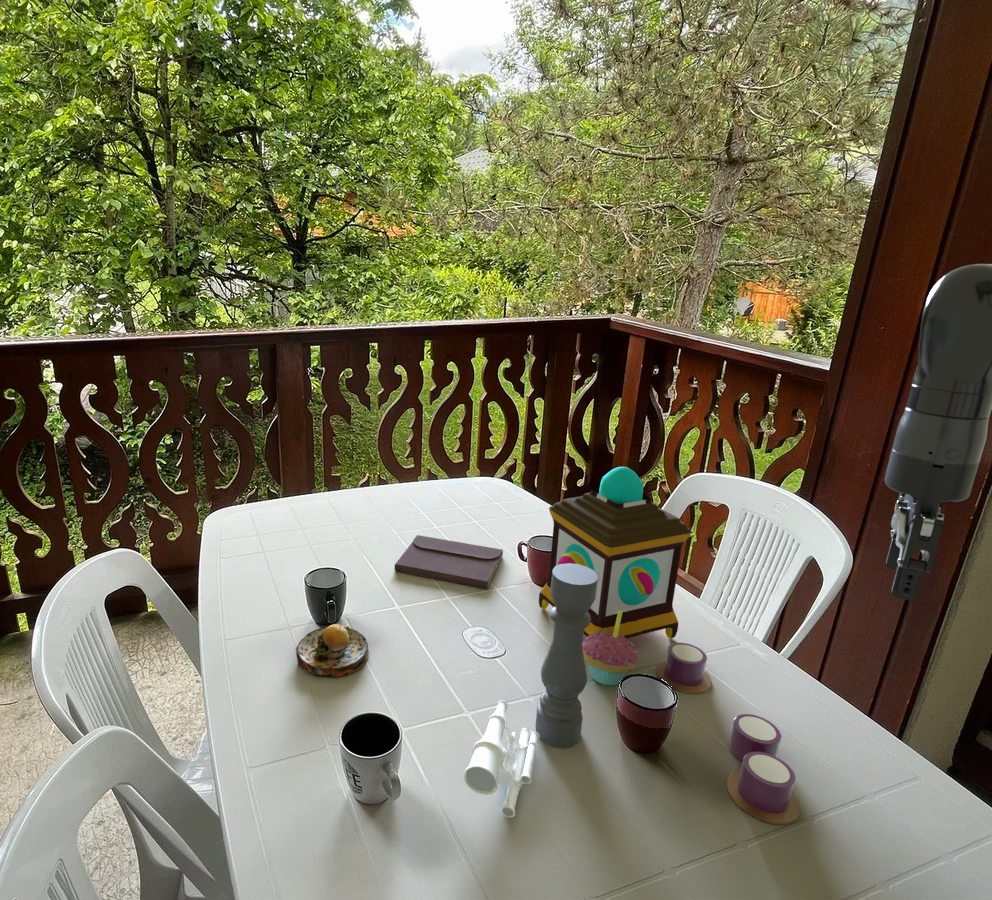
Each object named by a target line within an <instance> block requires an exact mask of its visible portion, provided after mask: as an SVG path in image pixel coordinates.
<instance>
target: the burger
mask: <svg viewBox="0 0 992 900" xmlns="http://www.w3.org/2000/svg"><path fill="white" fill-rule="evenodd" d="M369 652H370V651H369V643H368V640H367V638H366V637H365V636H364V634H362V633H361V632H359V631H358V630H355V629H354V628H351V627H349V626H343V625H342V624H337V623H334V624H331V625H329V626H326V627H321V628H316V629H315V630H312V631H310V632H308V633H307V634H306V635H305V636H304V637H303V638H302V639H301V640H300V641H298V644H297V646H296V647H295V653H296V661H297V665H298V666H299V667H300V669H301V670H302V671H303V670H305V667H306V669H307V671H308V672H309V673H310V674H311V675H312V676H316V675H317V676H318V677H321V676H328V675H332V676H333V677H335V678H337V677H343V676H344V675H345V674H346V673H348V674H349V675H350V674H352V673H354V672H357V671H359V669H361V668H362V667H363V666H364V665H365V663H366V662H367V661H368V659H369V655H370V653H369Z"/></svg>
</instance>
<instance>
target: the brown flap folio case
mask: <svg viewBox="0 0 992 900" xmlns="http://www.w3.org/2000/svg"><path fill="white" fill-rule="evenodd" d="M503 553H504V550H503V549H501V548H495V547H489V546H484V545H478V544H473V543H466V542H462V541H461V542H460V541H455V540H449V539H443V538H438V537H431V536H427V535H420V534H417V535H416V536H415V537H414V538H413V540H412V542H411V543H410V544H409V546H407V548H406V549H405V551H404V552H403V553H402V554H401V556H400V557H399V558H398V559H397V561H396V562H395V564H394V572H399V573H404V574H408V575H409V574H410V575H415V576H419V577H425V578H431V579H435V580H441V581H445V582H450V583H456V584H462V585H465V586H472V587H475V588H476V587H477V588H482V589H487V590H488V589H489V587H490V584H491V582H492V580H493V578H494V577H495V574H496V572H497V570H498V567H499V566H500V564H501V561H502V559H503Z"/></svg>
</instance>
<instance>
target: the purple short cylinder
mask: <svg viewBox="0 0 992 900" xmlns="http://www.w3.org/2000/svg"><path fill="white" fill-rule="evenodd" d="M740 770H741V771H740V776H739V780H738V790H739V792H740V794H741V796H742V797H743V798H744V799H745V800H746V801H747V802H748V803H750V804H751V805H752V806H754V807H756V808H758V809H760V810H762V811H765V812H769V813H782V812H784V811H786V810H787V809H788V807H789V803H790V799H791V795H792V792H793V791H794V788H795V787H794V786H795V783H796V774H795V772H794V771H793V768H792V767H791V766H790V765H789V764H788V763H786V762H785V761H783V760H782V759H781V758H780V757H778V756H777V757H775V756H773V755H771V754H768V753H764V752H750V753H748V754H746V755H745V756H744V758H743V762H741V767H740Z"/></svg>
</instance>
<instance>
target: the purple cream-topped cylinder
mask: <svg viewBox="0 0 992 900" xmlns="http://www.w3.org/2000/svg"><path fill="white" fill-rule="evenodd" d="M665 660H666V664H665V673H666V675H667V676H668V677H669V678H670V679H671V680H673V681H675V682H677V683H679V684H682V685H686V686H696V685H699V684H701V683H702V681H703V677H704V672H706V667H707V660H708V657H707V654H706V652H704V650H703V649H701V648H700V647H698V646H697V645H693V644H690V643H686V642H673V643H672V644H670V645H668V647H667V652H666V659H665Z"/></svg>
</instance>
